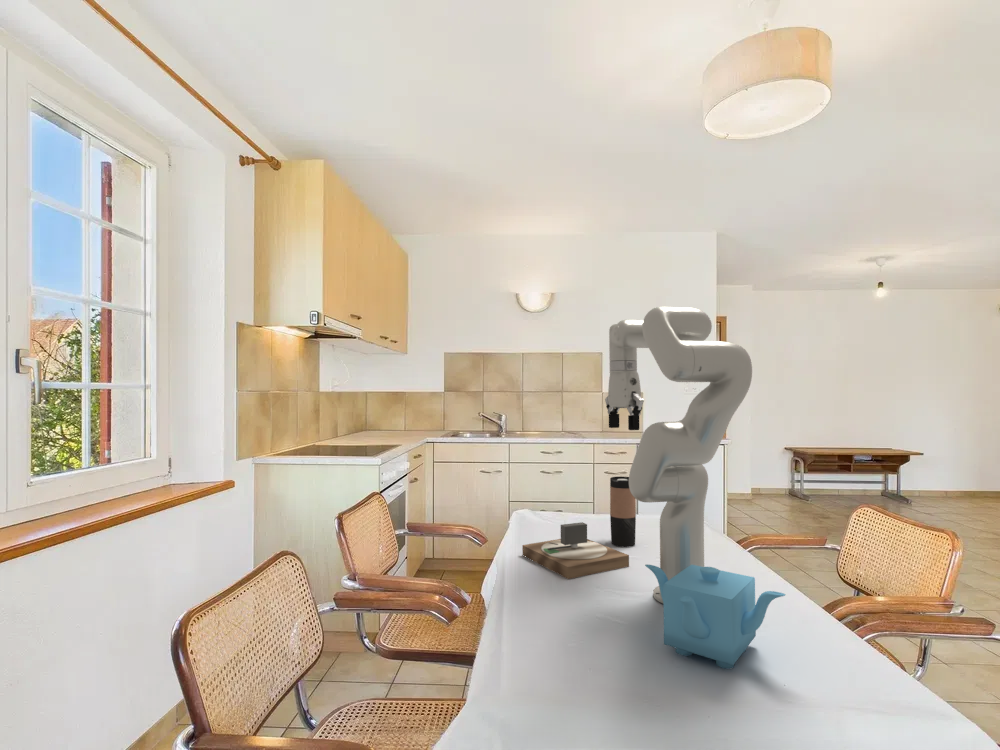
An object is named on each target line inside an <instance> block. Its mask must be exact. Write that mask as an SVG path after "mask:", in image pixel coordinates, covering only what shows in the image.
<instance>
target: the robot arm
mask: <svg viewBox="0 0 1000 750" xmlns="http://www.w3.org/2000/svg"><path fill="white" fill-rule="evenodd" d="M712 327H713V325H712V321H711V318H710V316H709V315H708V314H707V313H706V312H704V311H703V310H701V309H698V308H695V307H682V306H681V307H680V306H679V307H678V306H656V307H654V308H652V309H650V310H649V311H647V313H646V314H645V315H644V318H643V319H622V320H620V321H619V322H617V323H614V324H611V326H610V327H609V329H608V330H609V331H608V335H609V336H608V338H609V339H608V340H609V341H608V342H609V348H608V349H609V351H608V353H609V357H608V358H609V379H608V389H607V390H608V393H607V396H606V397H605V399H604V400H605V401H604V402H605V405H606V409H607V414H608V428H610V429H618V428H620V413H619V411H620V409H626V410H627V411H628V413H629V414H628V415H627V417H628V419H627V421H628V422H627V426H628V427H627V428H628V431H639V430H640V416H641V415H642V413H641V412H642V410H643V406H644V402H645V400H644V398H643V397H642V391H641V382H640V381H641V380H640V375H639V372H638V360H637V359H638V354H637V353H638V352H637V351H638V349H649V351H650V353H651V355H652V356H653V358H654V360H655V362H656V364H657V366H658V368H659V370H660V372H661V373H662V374H663V375H664V377H665V378H667V379H668V380H669V381H672V382H675V383H709V384H708V385H707V386H706V387H705V388H704V389H702V390H701V391H700V392H699V393H698V394H697V395H696V396H695V397H694V398H693V399H692V400H691V402H690V404H689V405H688V407H687V411H686V413H685V415H684V417H683V418H682V419H681V420H677V421H658V422H655V423H651V424H650V425H649V426H648V427H647V428H646V429H645V430H644V431H643V433H642V436H641V438H640V441H639V444H638V446H637V449H636V452H635V455H634V458H633V460H632V464H631V466H630V469H629V474H628V477H629V488H630V492H631V494H632V495H633V497H634V498H635V500H637V501H639V502H642V503H665V502H666V503H665V505H664V506H663V509H662V511H661V514H660V517H659V551H660V552H659V561H660V563H659V568H661V569H662V570H663V571H664V573H665V574H666V576H667V578H668V580H670V579H671V578H673V577H674V576H675V575H677V574H678V573H680V572H681V571H683V570H684V569H686V568H687V567H689V566H690V565H696V566H701V567H705V503H706V498H707V492H708V488H709V487H708V486H709V475H708V472H707V471H708V470H707V469H706V467H705V466H704V465H706V464H708V463H710V462H711V461H712V459H713V458H714V457H715V455H716V453H717V451H718V448H719V446H720V444H721V442H722V440H723V437H724V436H725V433H726V431H727V429H728V427H729V424H730V422H731V420H732V418H733V416H734V415H735V413H736V411H737V410H738V408H739V407H740V406H741V404H742V403H743V401H744V399H745V398H746V396H747V393H748V392H749V390H750V387H751V383H752V378H753V366H752V360H751V357H750V354H749V353H748V351H747V350H746V349H745V348H744V347H742V346H741V345H739V344H737V343H734V342H728V341H722V340H717V341H716V340H706V339H708V337H709V336H710V334H711V332H712ZM652 595H653V598H654V599H655V600H656V601H657V602H659V603H661V604H663V600H662V596H661V592H660V587H659V585H658V586H656V587H654V589H653V593H652Z"/></svg>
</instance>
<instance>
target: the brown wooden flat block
mask: <svg viewBox="0 0 1000 750" xmlns="http://www.w3.org/2000/svg"><path fill="white" fill-rule="evenodd" d="M562 546H569V545H564V544H562V543H561V538H558V539H557V538H556V539H552V540H547V541H540V542H539V541H538V542H534V543H527V544H523V545H522V556H523V555H524V556H526V557H527V558H526V557H525V558H526V559H528V558H529V560H530V559H531V560H530V561H532V560H533V561H532V562H534V563H536V564H538V565H540V566H542V567H543V568H546V569H548V570H549V571H552V572H553V573H555V574H557V575H559V576H561V577H563V578H565V579H566V580H571V579H575V578H581V577H585V576H591V575H595V574H599V573H604V572H608V571H614V570H619V569H623V568H629V567H630V555H629V554H627V553H624V552H622V551H619V550H616V549H614V548H612V547H609V546H606V545H604V544H601V543H599V542H595V541H593V540H591V539H588V538H587V543H579V544H578V547H577V548H571V547H570V548H562V549H554V550H548V548H554V547H562ZM524 556H523V557H524Z"/></svg>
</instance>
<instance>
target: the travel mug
mask: <svg viewBox="0 0 1000 750" xmlns="http://www.w3.org/2000/svg"><path fill="white" fill-rule="evenodd" d="M609 481H610V482H609V487H610V488H609V489H610V491H609V493H610V495H609V498H610V500H609V504H610V505H609V509H610V510H609V513H610V514H609V515H610V517H609V519H610V520H609V521H610V542H611V545H613V546H615V547H618V548H619V547H621V548H631V547H635V546H636V524H637V521H636V520H637V519H636V517H637V515H636V514H637V513H636V511H637V510H636V504H637V503H636V502H637V501H636V499H635V498H634V497H633V495H632V494H631V492H630V488H629V476H622V475H621V476H612V477H610V479H609Z"/></svg>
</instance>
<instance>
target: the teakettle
mask: <svg viewBox="0 0 1000 750" xmlns="http://www.w3.org/2000/svg"><path fill="white" fill-rule="evenodd" d="M644 566H645V567H646V568H647V569H649V570H650V571H651V572H652V573H653V574H654V576H655V578H656V579H657V583H658V586H659V587H660V592H661V596H662V600H663V603H662V605H663V607H662V608H663V644H664V645H666V646H668V647H672V648H674V649H675V653H677V655H681V656H685V657H686V656H692V655H693V654H694V655H698V656H702V657H704V658H707V659H711V660H714V661H715V664H716V665H717V666H718V667H720V668H722V669H729V670H731V669H733V668H735V664H736V662H737V661H738V660H739V659H740V657H741V656H742V655H743V653H745V652H747V648H748V647H749V645H750V644H751V643H752V642H753V640H754V639H755V638H756V635H757V631H758V629H759V628H760V627H761V626H762V624H763V622H764V619H765V617H766V613H767V610H768V608H769V605H770V604H771V602H772V601H773V600H776V599H777V598H782V597H785V596H786V594H785V593H783V592H779V591H775V590H766V591H763V592H762V593H761V594H760V595H759V596H758V598H757V599H756V577H754V576H750V575H745V574H740V573H735V572H730V571H726V570H720V569H719V568H717V567H712V566H704V567H701V566H696V565H690V566H689V567H687V568H686V569H684V570H683V571H681V572H680V573H678V574H677V575H675V576H674V577H673V578H671V579H670V580H668V578H667V576H666V574H665V573H664V571H663V570H662V569H661V568H660V566H657V565H653V564H645V565H644ZM756 600H757V601H756Z"/></svg>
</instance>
